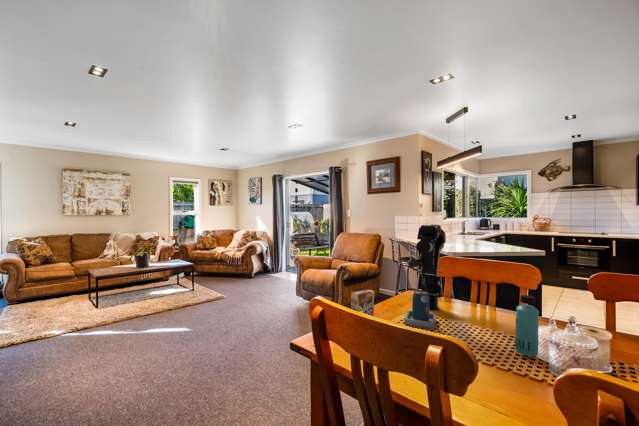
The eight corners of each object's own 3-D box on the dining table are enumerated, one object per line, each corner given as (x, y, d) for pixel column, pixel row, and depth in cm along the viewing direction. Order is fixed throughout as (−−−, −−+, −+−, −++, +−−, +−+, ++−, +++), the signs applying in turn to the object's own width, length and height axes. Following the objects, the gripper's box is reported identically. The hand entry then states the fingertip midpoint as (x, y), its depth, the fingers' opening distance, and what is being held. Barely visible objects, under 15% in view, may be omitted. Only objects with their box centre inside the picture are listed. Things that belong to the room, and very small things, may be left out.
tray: (407, 315, 136) (407, 310, 136) (435, 319, 132) (435, 313, 132) (404, 325, 125) (404, 319, 125) (435, 329, 121) (435, 323, 121)
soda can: (430, 323, 125) (431, 294, 125) (413, 322, 126) (414, 294, 126) (427, 317, 132) (427, 290, 132) (410, 316, 133) (411, 289, 132)
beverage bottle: (534, 353, 101) (535, 294, 101) (541, 363, 95) (543, 299, 95) (512, 350, 104) (513, 292, 103) (517, 359, 97) (519, 297, 97)
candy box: (356, 334, 115) (357, 294, 115) (349, 330, 119) (350, 291, 119) (374, 329, 120) (374, 291, 120) (366, 325, 124) (367, 288, 124)
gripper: (407, 251, 147) (406, 283, 146) (409, 252, 129) (408, 289, 128) (432, 252, 144) (431, 285, 143) (437, 254, 126) (436, 292, 125)
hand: (426, 288), depth 135 cm, fingers open, 9 cm apart
